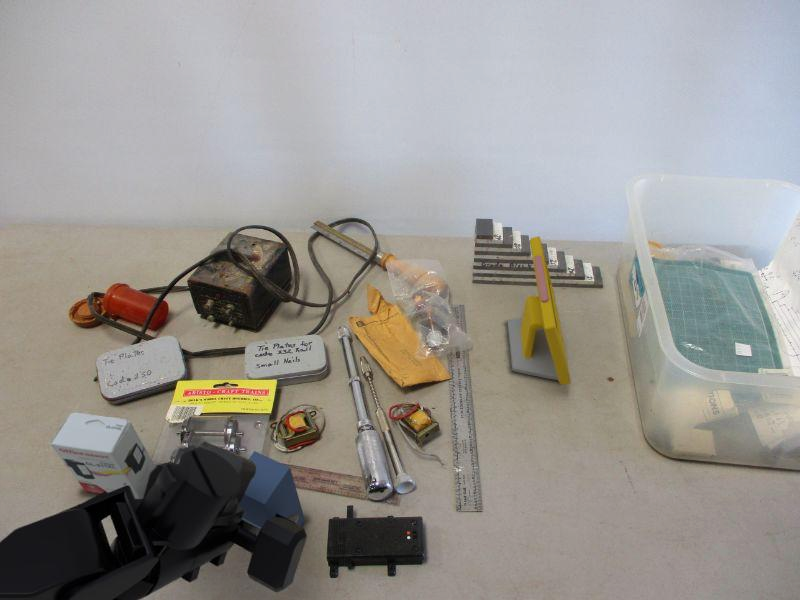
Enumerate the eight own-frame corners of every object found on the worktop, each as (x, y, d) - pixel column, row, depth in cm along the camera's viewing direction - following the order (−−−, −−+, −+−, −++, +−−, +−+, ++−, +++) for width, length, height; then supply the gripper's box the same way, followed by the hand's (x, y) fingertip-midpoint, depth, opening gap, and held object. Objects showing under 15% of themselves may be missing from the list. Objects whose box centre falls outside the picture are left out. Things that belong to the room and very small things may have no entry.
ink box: (83, 492, 80) (45, 443, 71) (102, 460, 83) (68, 410, 75) (142, 501, 78) (110, 453, 70) (159, 469, 82) (130, 419, 74)
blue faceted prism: (283, 555, 73) (264, 504, 64) (250, 538, 74) (227, 486, 66) (305, 520, 76) (290, 467, 67) (273, 504, 78) (254, 450, 69)
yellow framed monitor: (566, 398, 89) (587, 325, 78) (514, 395, 90) (527, 324, 79) (550, 306, 104) (566, 234, 93) (505, 304, 104) (515, 233, 93)
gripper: (279, 505, 51) (353, 468, 66) (121, 427, 57) (220, 409, 72) (243, 625, 51) (324, 562, 66) (89, 534, 58) (194, 495, 72)
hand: (264, 502), depth 69 cm, fingers open, 9 cm apart
